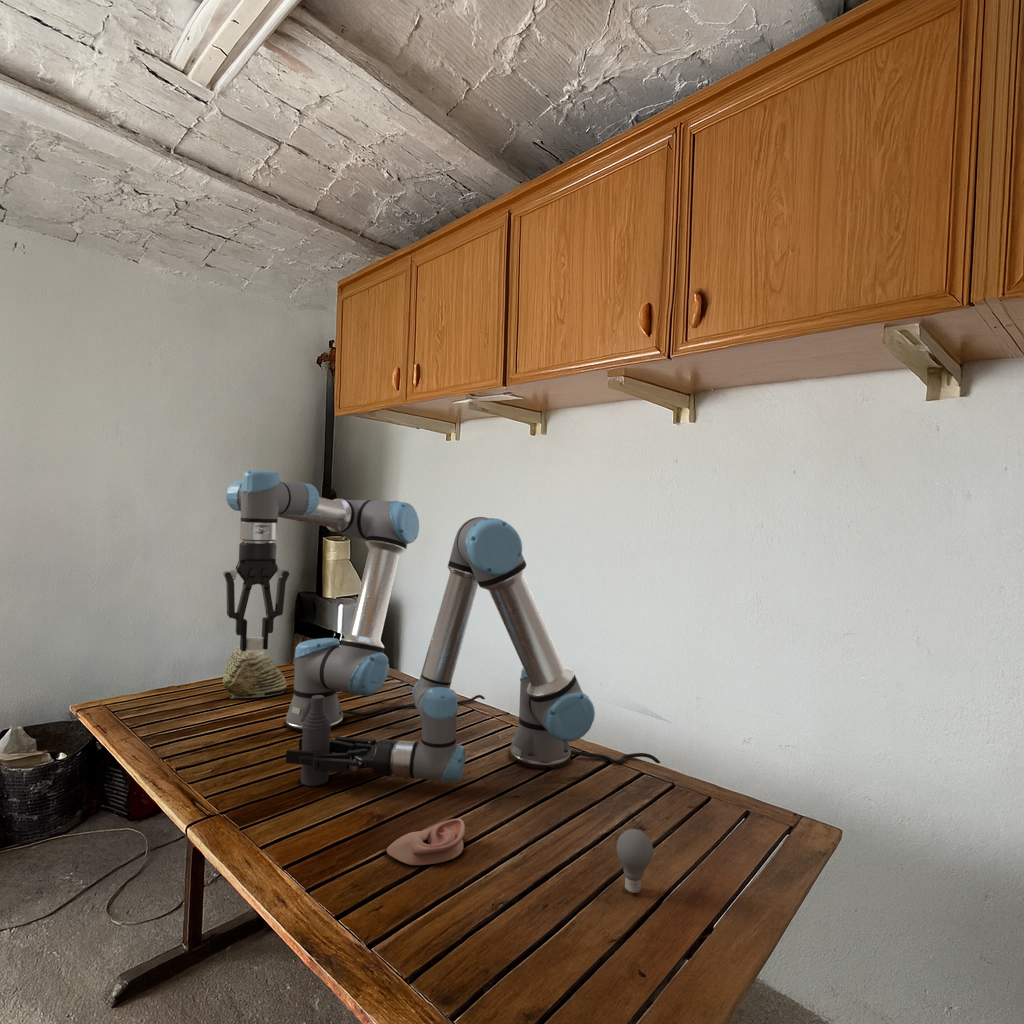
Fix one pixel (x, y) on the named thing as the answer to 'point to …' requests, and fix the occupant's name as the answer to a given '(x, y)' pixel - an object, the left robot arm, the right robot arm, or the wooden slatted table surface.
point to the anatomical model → (430, 844)
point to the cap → (254, 643)
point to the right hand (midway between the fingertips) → (293, 750)
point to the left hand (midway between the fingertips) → (253, 648)
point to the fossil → (252, 675)
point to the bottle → (315, 740)
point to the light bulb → (634, 857)
